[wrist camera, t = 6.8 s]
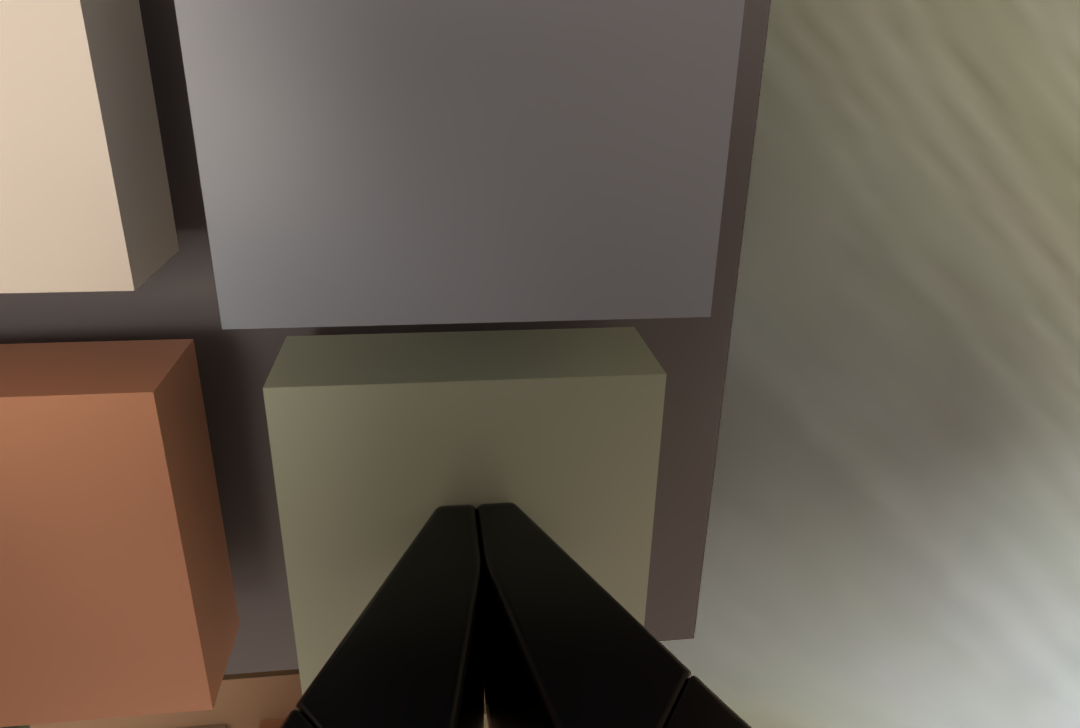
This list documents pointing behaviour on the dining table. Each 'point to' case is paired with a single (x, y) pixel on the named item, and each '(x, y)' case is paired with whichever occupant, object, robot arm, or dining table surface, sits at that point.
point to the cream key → (79, 150)
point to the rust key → (109, 534)
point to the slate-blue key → (460, 157)
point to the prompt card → (224, 706)
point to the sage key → (458, 455)
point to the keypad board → (249, 354)
